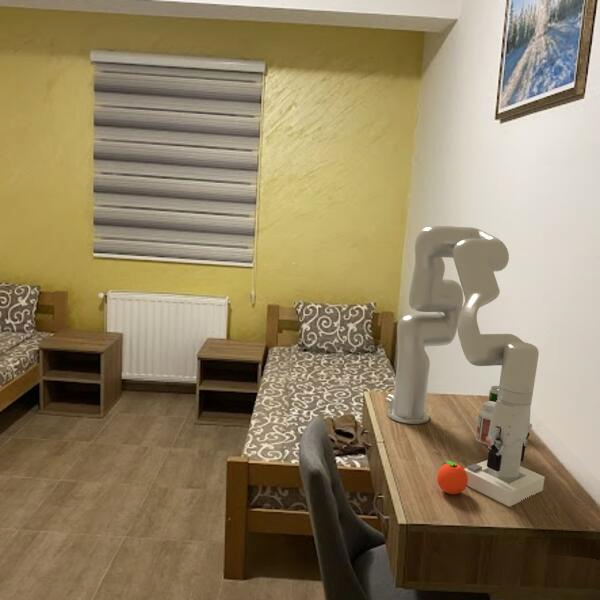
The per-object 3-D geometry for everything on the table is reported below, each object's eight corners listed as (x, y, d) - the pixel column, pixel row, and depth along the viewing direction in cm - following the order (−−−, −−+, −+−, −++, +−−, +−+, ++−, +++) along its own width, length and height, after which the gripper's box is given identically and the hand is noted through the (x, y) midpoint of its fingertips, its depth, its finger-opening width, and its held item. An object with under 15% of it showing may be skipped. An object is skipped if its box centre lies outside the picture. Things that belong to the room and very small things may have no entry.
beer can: (490, 431, 183) (496, 392, 181) (481, 423, 189) (486, 385, 186) (507, 430, 185) (513, 391, 182) (497, 423, 190) (503, 385, 187)
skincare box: (507, 479, 153) (513, 433, 150) (517, 488, 148) (524, 440, 146) (484, 481, 151) (491, 434, 149) (494, 489, 147) (501, 441, 145)
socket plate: (461, 482, 150) (463, 466, 150) (495, 468, 159) (497, 453, 158) (509, 506, 141) (511, 490, 140) (542, 490, 149) (545, 474, 149)
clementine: (427, 484, 148) (430, 456, 147) (451, 481, 151) (455, 453, 149) (446, 501, 141) (450, 472, 140) (472, 497, 143) (476, 469, 142)
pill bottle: (503, 443, 175) (508, 406, 173) (488, 447, 172) (493, 409, 170) (485, 435, 180) (490, 398, 178) (470, 438, 177) (475, 401, 175)
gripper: (521, 384, 154) (511, 450, 157) (478, 396, 143) (469, 466, 146) (549, 394, 148) (539, 461, 151) (507, 407, 137) (497, 479, 140)
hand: (505, 464), depth 149 cm, fingers open, 9 cm apart
